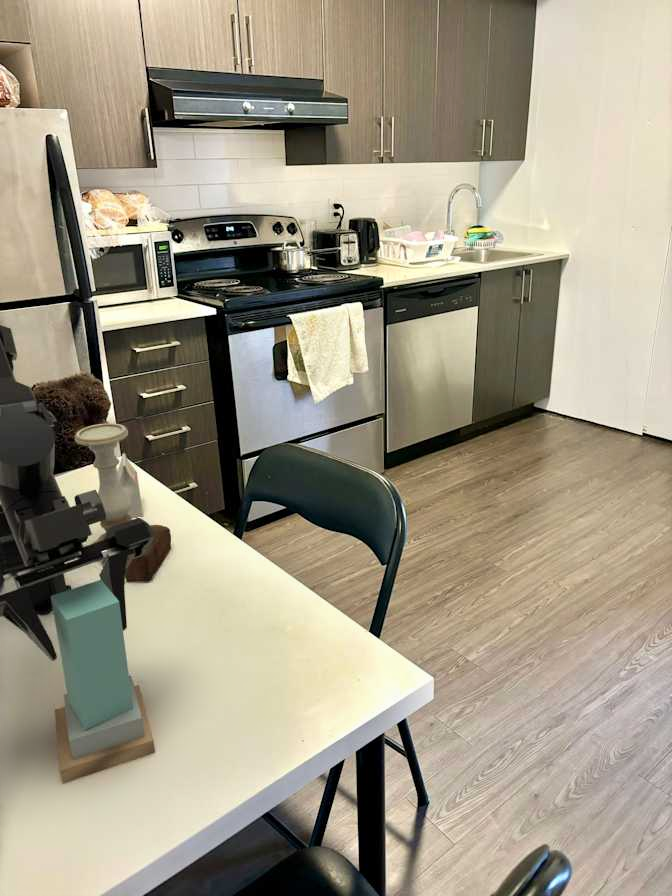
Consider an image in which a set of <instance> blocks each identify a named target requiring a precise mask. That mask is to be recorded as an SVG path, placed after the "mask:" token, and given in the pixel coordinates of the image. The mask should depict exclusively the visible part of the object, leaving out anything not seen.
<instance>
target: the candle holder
mask: <svg viewBox="0 0 672 896" xmlns="http://www.w3.org/2000/svg"><path fill="white" fill-rule="evenodd" d="M128 435H129V431H128V428H127V426H125V425H123V424H121V423H120V424H119V423H113V422H110V423H108V422H107V423H98V424H93V425H89V426H87V427H83V428H81V429H79V430H77V432H76V433H75V434H74V440H75V442H76V444H78V445H80V446H85V447H88V448H89V450H90V451H91V452H93V453H94V455H95V459H94V462H93V463H92V466H93V468H95V469H97V472H98V481H99V487H98V491H97V493H98V495H99V497H100V499H101V502H102V504H103V507H104V510H105V513H106V519H105V520H103V521H100V522H99V524H100V527H101V528H102V529H103V530H104V531H105V532H103V534H101V535H100V536H99V537H98V538H97V539H96V540H95V541H94V543H96V542H99V541H102V540H104V538H105V536H106V533H107V531H108V529H109V527H112V526H115V525H118V524H121V523H124V522H127V521H131V520H133V519H132V518H131V516H130V515H128V512H129V511H130V508H131V500H130V497H129V495H128V494H127V492H126V491H125V490H124V488H123V487H122V485H121V483H120V481H119V477H118V473H117V471H118V467H117V466H119V465H120V459H118V458H117V456H116V455H115V450H116V448H117V446H118V442H120V441H123V440H124V439H126V438H127V436H128Z"/></svg>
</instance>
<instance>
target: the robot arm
mask: <svg viewBox="0 0 672 896" xmlns="http://www.w3.org/2000/svg"><path fill="white" fill-rule="evenodd" d="M17 358H18V351H17V348H16V344H15V340H14V335H13V332H12V329H11V327H8V326H3V325H0V618H1V617H3V618H4V619H6V620H7V621H8V622H10V623H11V624H12V625H13V626H15V627H16V628H18V629H19V630H20V631H21V632H23V633H24V634H25V635H26V636H27V637H28V638H29V639H30V640H31V641H32V642H33V643H34V644H35V645H36V647H38V648H39V650H41V651H42V653H44V655H45V656H46V657H47V658H48V659H49V660H50V661H52V662H54V661H56V660H57V659H58V655H57V653H56V650H55V648H54V645H53V642H52V640H51V638H50V636H49V634H48V631H46V629H45V626H44V625H43V622H42V621H41V619H40V617H39V615H47V614H49V613H50V612H51V611H53V607H52V602H51V596H52V595H55V594H58V593H61V592H64V591H68V590H71V589H73V588H72V586H71V585H68V584H67V583H66V578H65V574H66V573H69V572H71V571H75V570H76V569H80V568H82V567H85V566H88V565H90V564H94V563H96V562H99V563H100V565H101V567H102V569H101V570H100V573H99V576H98V577H99V578H100V579H99V580H102V581H103V582H104V584H105V585H106V586H107V587H108V589H109V590H110V591H111V592H112V593H113V595H114V596H115V597H116V598H117V600H118V601H119V605H120V612H121V620H122V627H123V632H124V631H126V630H127V628H128V623H127V622H128V621H127V606H126V595H125V593H126V592H125V591H126V589H125V583H126V582H125V581H126V578H125V570H126V569H127V568H128V566H129V564H130V563H131V561H132V559H135V558H138V557H140V556H142V555H143V554H145V553H146V551H147V549H148V548H149V546H150V545H151V543H152V541H153V540H154V538H155V536H154V534H153V532H152V529H151V527H150V525H151V524H149V523H148V521H146V520H144V519H142V518H136V519H132V520H131V521H127V522H124V523H121V524H118V525H115V526H112V527H109V529H108V531H107V533H106V536H105V538H104V540H102V541H99V542H96V543H90V544H88V545H85V546H84V544H83V543H86V542H87V540H88V538H89V537H91V536H92V535H93V534H92V531H91V528H90V527H91V525H93V524H97V523H100V522H101V521H103V520H105V519H106V513H105V510H104V507H103V504H102V502H101V499H100V497H99V495H98V491H97V489H92V490H89V491H85V492H84V493H83V492H82V493H79V494H76V495H75V496H74V498H73V499H74V503H75V505H73V506H70V505H69V502H68V500H67V499H66V496H65V495H63V493H62V492H61V489H60V487H59V484H58V482H57V479H56V478H55V475H54V471H55V470H54V469H55V443H56V442H55V439H56V433H60V428H59V427H60V426H59V422H58V420H57V418H56V417H55V416H54V415H53V413H52V412H51V411H49V410H48V409H47V408H46V406H45V404H44V403H43V402H42V403H38V401H37V398H36V396H35V394H34V392H33V390H32V388H31V387H30V386H28V385H26V384H23V383H21V382H18V381H17V380H16V378H15V375H14V368H15V367H14V366H15V365H14V362H13V361H17ZM38 614H39V615H38Z"/></svg>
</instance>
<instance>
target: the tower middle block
mask: <svg viewBox="0 0 672 896" xmlns="http://www.w3.org/2000/svg"><path fill="white" fill-rule="evenodd" d="M129 681H130V689H131V696H132V704H133V709H131V710H129V711H127V712H125V713H122V714H120V715H118V716H116V717H114V718H111V719H109V720H107V721H105V722H102V723H100V724H98V725H96V726H93V727H91V728H89V729H87V730H84V728H83V727H82V725H81V723H80V721H79V720H78V718H77V716H76V714H75V712H74V711H73V709H72V707H71V705H70V703H69V700H68V694H67V693H66V694H63V701H64V707H65V711H66V719H67V727H68V736H69V742H70V747H71V752H72V756H73V760H75V759H78V758H81V757H84V756H87V755H90V754H93V753H96V752H99V751H102V750H105V749H108V748H111V747H114V746H117V745H120V744H123V743H126V742H129V741H132V740H136V739H139V738H142V737H145V734H144V728H143V722H142V716H141V712H140V709H139V705H138V701H137V697H136V693H135V689H134V686H135V685H134V683H133V679H132V675H129Z"/></svg>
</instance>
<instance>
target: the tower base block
mask: <svg viewBox="0 0 672 896" xmlns="http://www.w3.org/2000/svg"><path fill="white" fill-rule="evenodd" d="M133 686H134V689H135V693H136V697H137V701H138V705H139V709H140V712H141V716H142V722H143V728H144V734H145V737H142V738H139V739H136V740H132V741H129V742H126V743H123V744H120V745H117V746H114V747H111V748H108V749H105V750H102V751H99V752H96V753H93V754H90V755H87V756H84V757H81V758H78V759H75V760H73V756H72V752H71V747H70V742H69V736H68V727H67V719H66V711H65V706H63V707H59V708H55V709H54V717H55V718H54V719H55V728H56V739H57V741H56V742H57V751H58V753H57V754H58V764H59V765H58V766H59V773H60V777H61V782H62V784H67V783H69V782H71V781H75V780H78V779H80V778H83V777H86V776H89V775H90V776H91V775H92V774H95V773H98V772H101V771H104V770H107V769H110V768H113V767H116V766H119V765H122V764H125V763H128V762H130V761H133V760H136V759H137V760H138V759H140V758H143V757H145V756H149V755H151V754H155V753H156V749H155V742H154V738H153V734H152V729H151V726H150V723H149V719H148V714H147V711H146V707H145V703H144V700H143V695H142V691H141V687H140V684H137V685H133ZM77 778H78V779H77ZM74 779H75V780H74Z"/></svg>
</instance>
